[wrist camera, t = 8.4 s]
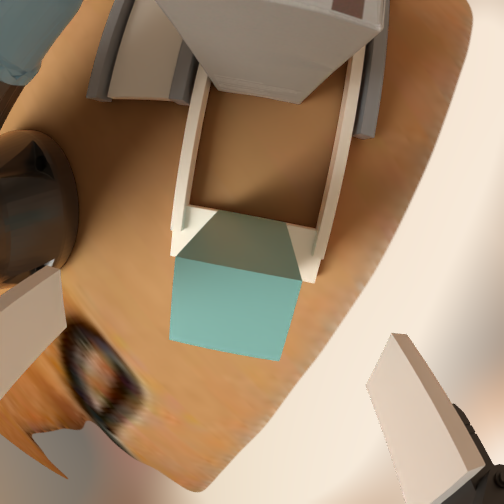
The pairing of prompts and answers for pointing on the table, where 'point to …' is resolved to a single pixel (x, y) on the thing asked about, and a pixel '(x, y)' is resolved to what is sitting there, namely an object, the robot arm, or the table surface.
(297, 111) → the table surface
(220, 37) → the skincare box
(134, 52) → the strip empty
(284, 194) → the table surface
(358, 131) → the lane bed
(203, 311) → the white and teal frame
